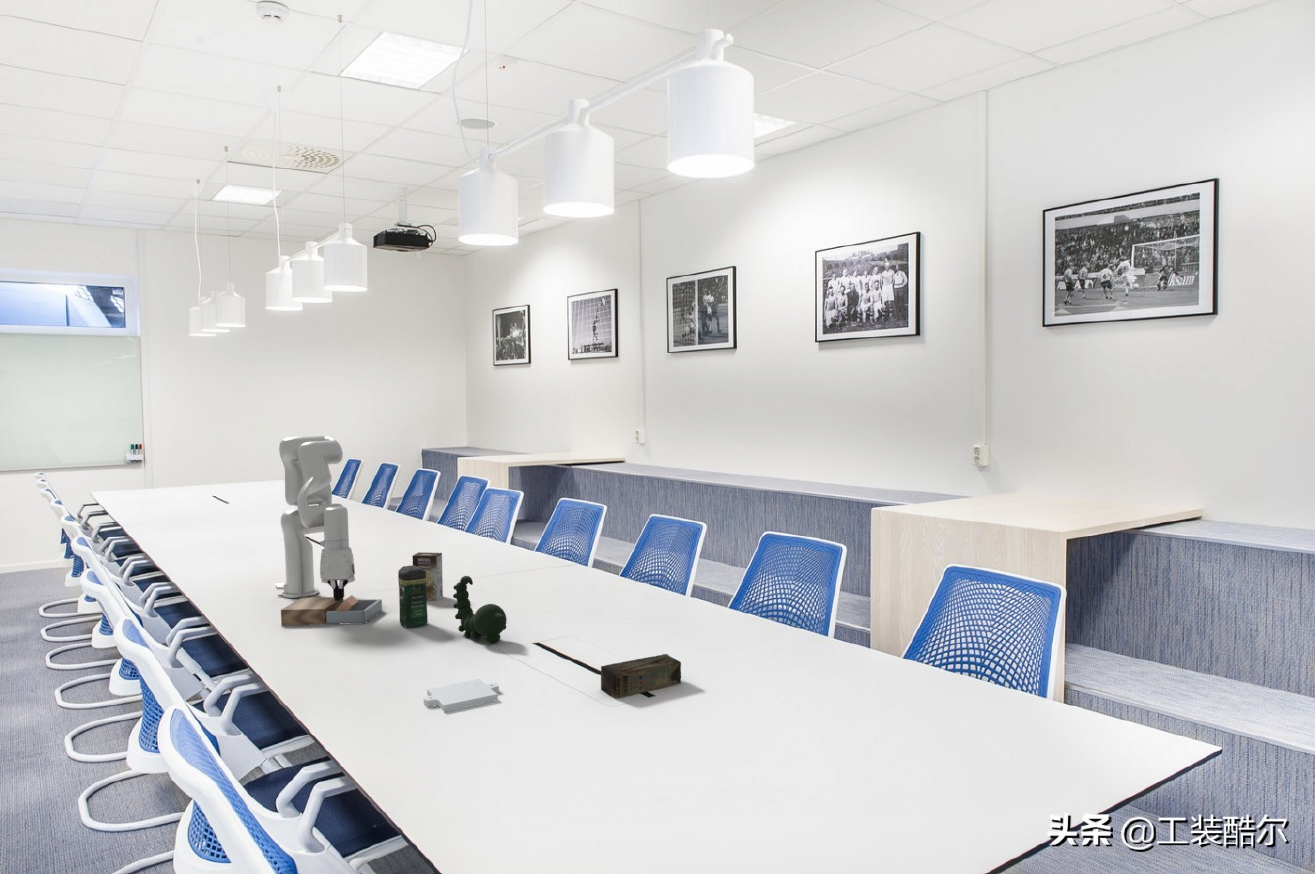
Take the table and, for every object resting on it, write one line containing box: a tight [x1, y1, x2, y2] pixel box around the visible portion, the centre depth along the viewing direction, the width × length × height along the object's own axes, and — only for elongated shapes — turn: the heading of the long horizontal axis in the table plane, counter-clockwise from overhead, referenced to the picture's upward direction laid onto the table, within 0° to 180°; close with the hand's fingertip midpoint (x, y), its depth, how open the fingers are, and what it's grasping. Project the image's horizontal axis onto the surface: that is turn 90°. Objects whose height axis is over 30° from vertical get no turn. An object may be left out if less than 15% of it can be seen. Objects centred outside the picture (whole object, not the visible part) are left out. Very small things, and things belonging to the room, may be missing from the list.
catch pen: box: [324, 598, 383, 625], centre depth 283 cm, size 13×16×4 cm
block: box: [335, 594, 359, 611], centre depth 282 cm, size 6×6×3 cm
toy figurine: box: [452, 575, 508, 645], centre depth 255 cm, size 9×19×25 cm
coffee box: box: [412, 552, 444, 601], centre depth 307 cm, size 9×6×16 cm
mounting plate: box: [423, 678, 500, 712], centre depth 206 cm, size 18×13×2 cm
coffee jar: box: [397, 564, 429, 628], centre depth 272 cm, size 10×8×19 cm
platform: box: [280, 596, 344, 626], centre depth 283 cm, size 14×16×5 cm
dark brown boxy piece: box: [600, 653, 682, 700], centre depth 210 cm, size 8×19×7 cm, turn 122°
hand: (339, 599), depth 283 cm, fingers closed
